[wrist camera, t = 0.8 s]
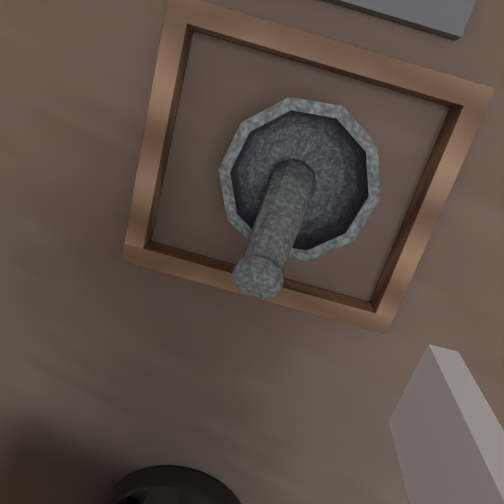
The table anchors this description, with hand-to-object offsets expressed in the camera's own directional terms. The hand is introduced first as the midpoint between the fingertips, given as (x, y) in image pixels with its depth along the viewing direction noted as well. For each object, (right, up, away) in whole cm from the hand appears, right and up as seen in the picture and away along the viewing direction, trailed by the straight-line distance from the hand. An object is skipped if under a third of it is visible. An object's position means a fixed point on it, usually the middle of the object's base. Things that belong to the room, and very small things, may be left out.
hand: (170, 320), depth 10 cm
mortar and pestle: (+5, +7, +20) cm, 22 cm away
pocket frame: (+5, +7, +20) cm, 22 cm away
